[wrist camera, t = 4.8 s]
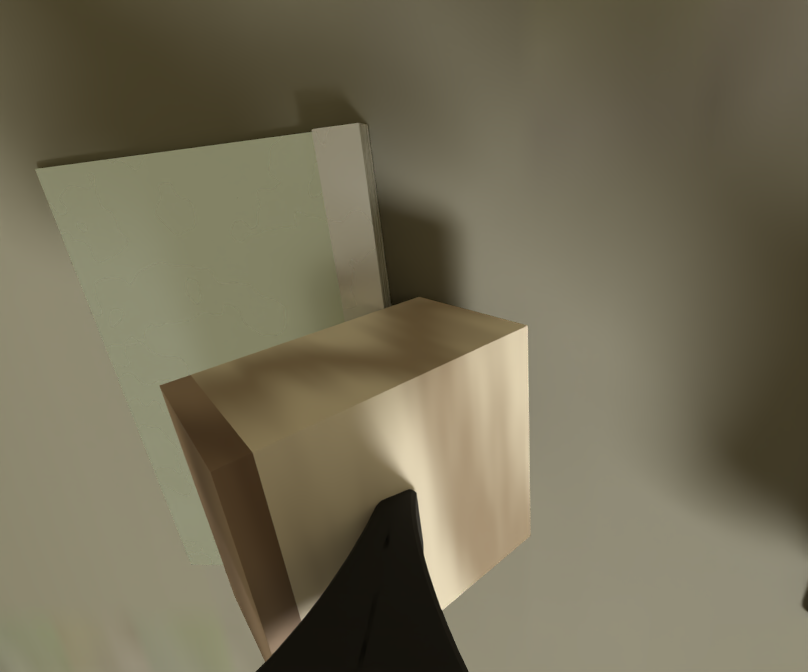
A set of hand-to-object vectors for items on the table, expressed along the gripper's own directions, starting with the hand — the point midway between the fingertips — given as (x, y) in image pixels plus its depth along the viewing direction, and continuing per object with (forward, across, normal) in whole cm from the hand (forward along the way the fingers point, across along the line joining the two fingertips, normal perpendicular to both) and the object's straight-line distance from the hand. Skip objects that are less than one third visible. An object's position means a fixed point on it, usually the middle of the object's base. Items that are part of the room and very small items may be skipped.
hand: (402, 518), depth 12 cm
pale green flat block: (+8, +7, 0) cm, 10 cm away
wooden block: (+5, -2, 0) cm, 5 cm away
